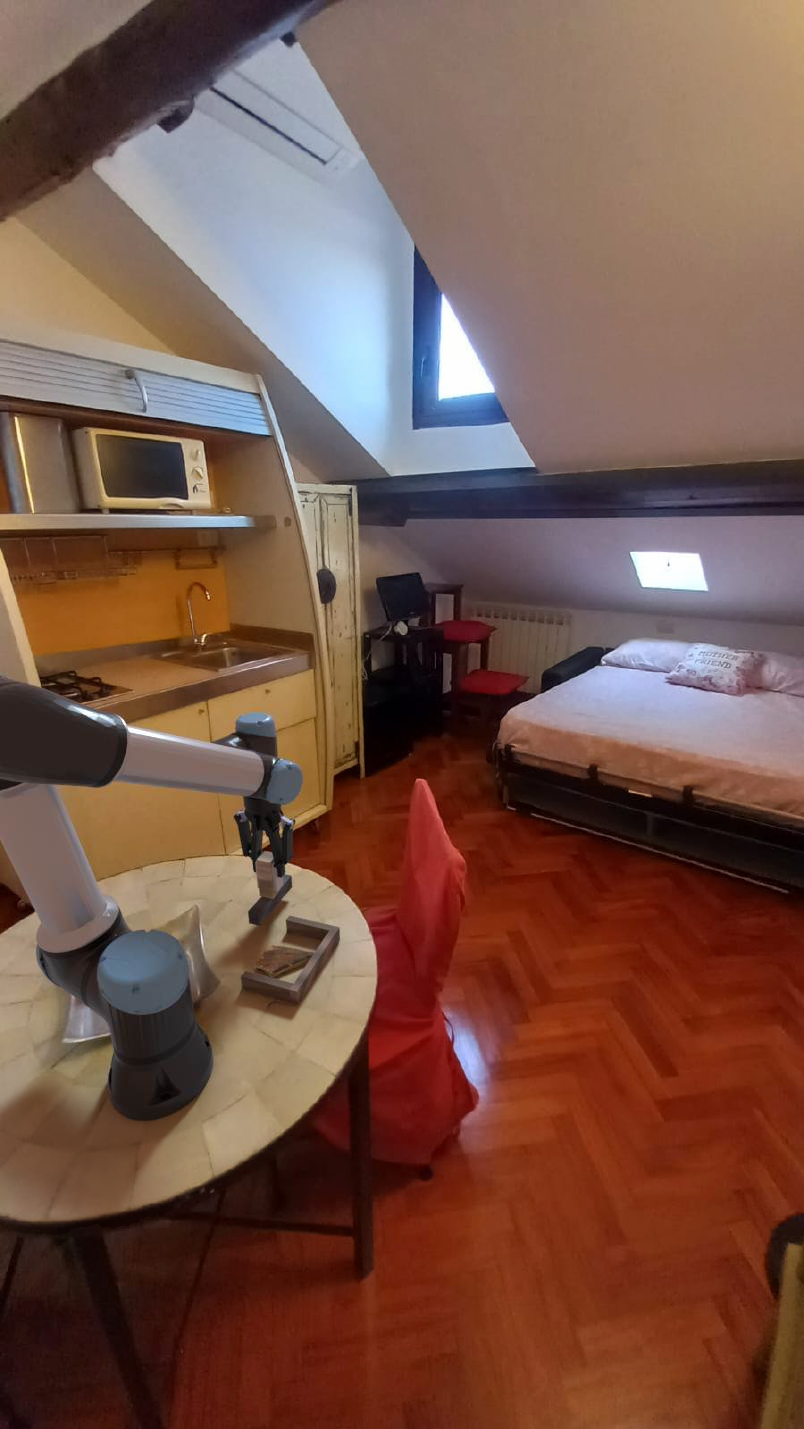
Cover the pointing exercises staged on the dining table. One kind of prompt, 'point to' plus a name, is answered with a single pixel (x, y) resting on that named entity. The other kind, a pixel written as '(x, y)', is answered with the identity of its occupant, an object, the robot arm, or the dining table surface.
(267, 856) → the scraper
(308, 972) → the walnut bay
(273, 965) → the shard
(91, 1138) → the dining table surface
